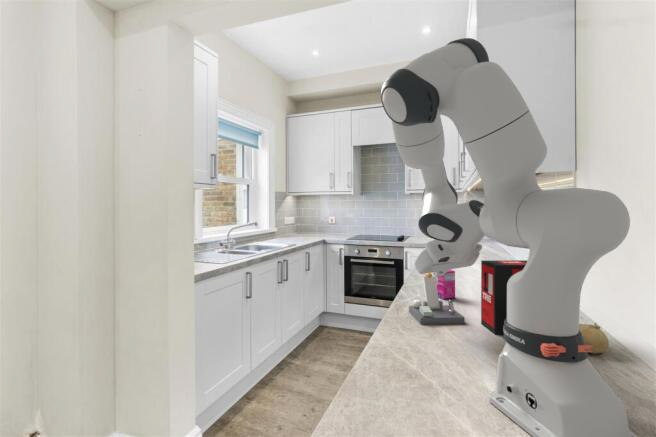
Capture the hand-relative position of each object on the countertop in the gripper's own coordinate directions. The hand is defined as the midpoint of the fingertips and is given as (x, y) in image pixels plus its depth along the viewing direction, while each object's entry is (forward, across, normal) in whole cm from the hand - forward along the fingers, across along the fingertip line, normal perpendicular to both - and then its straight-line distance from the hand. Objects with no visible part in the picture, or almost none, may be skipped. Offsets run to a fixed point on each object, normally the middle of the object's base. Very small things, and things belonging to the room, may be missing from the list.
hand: (437, 274), depth 104 cm
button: (+15, +3, +3) cm, 15 cm away
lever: (+12, 0, +5) cm, 13 cm away
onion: (-10, -20, +34) cm, 41 cm away
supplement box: (+28, -18, -4) cm, 34 cm away
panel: (+12, 0, +8) cm, 15 cm away
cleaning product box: (+2, -16, +22) cm, 27 cm away
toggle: (+8, -4, +10) cm, 13 cm away
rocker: (+8, +5, +8) cm, 12 cm away
